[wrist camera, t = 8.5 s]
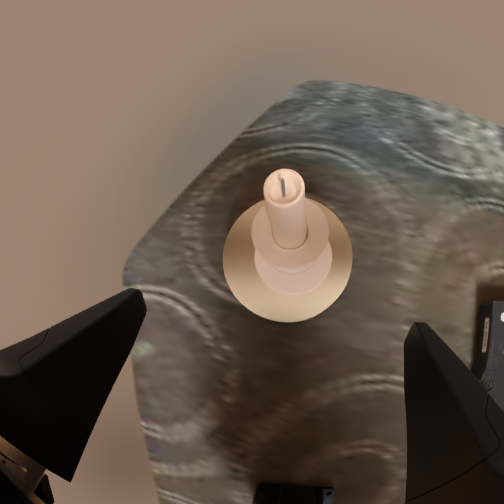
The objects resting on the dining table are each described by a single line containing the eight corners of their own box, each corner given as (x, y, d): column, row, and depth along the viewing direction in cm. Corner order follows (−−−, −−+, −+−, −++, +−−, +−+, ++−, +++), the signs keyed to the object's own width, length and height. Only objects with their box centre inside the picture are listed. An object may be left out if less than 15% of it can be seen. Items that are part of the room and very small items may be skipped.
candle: (300, 311, 18) (300, 290, 8) (239, 265, 19) (177, 198, 9) (346, 249, 18) (386, 165, 8) (285, 208, 20) (267, 103, 10)
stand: (342, 326, 20) (348, 326, 17) (226, 316, 22) (214, 314, 19) (346, 214, 22) (352, 198, 19) (240, 209, 24) (231, 193, 21)
